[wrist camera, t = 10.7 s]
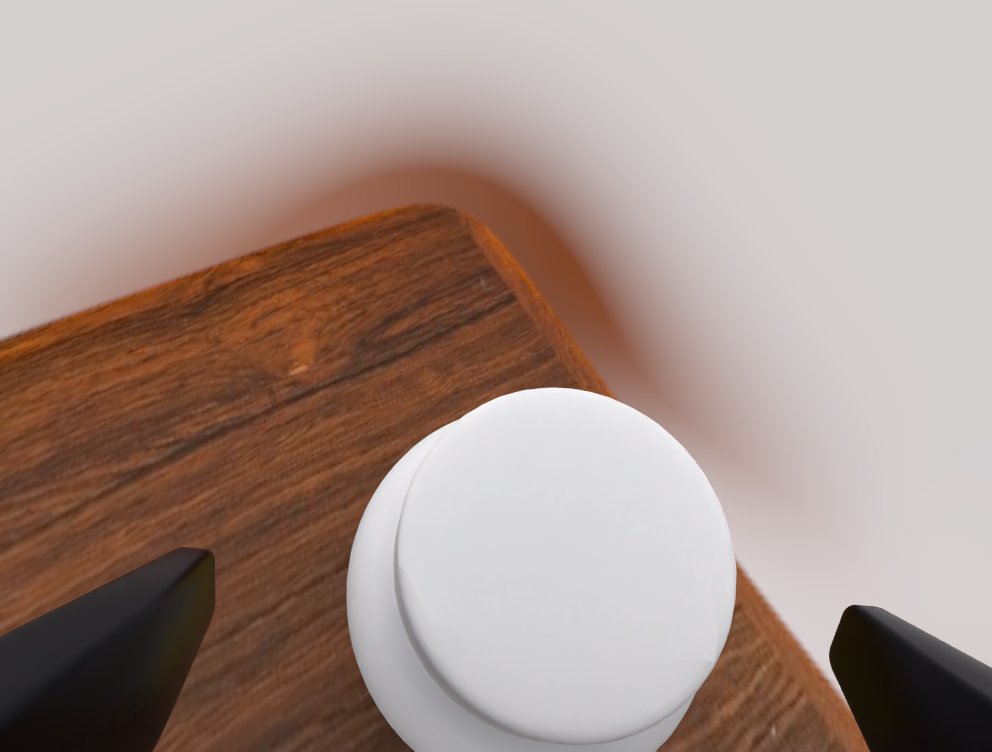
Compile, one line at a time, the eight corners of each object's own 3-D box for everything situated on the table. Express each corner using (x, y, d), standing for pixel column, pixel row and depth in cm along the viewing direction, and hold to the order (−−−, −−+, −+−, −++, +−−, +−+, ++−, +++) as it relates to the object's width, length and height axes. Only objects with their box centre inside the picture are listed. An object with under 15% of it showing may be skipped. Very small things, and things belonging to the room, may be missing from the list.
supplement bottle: (539, 493, 17) (674, 294, 8) (615, 691, 15) (914, 712, 6) (355, 552, 16) (275, 387, 7) (409, 780, 13) (394, 985, 5)
